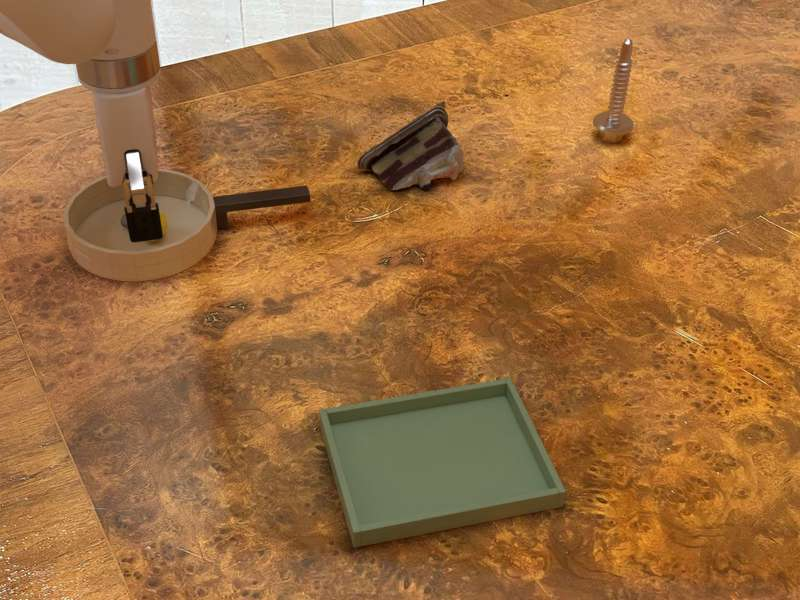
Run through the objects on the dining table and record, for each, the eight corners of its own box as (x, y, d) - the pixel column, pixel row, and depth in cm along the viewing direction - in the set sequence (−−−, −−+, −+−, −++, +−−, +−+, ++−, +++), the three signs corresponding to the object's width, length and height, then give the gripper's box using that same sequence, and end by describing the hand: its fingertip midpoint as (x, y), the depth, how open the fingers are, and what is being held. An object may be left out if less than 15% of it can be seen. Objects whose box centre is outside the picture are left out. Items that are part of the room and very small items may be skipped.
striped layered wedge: (381, 208, 117) (462, 134, 113) (350, 163, 120) (428, 89, 116) (422, 228, 125) (498, 158, 121) (392, 185, 128) (465, 116, 124)
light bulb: (161, 250, 109) (143, 226, 106) (122, 243, 112) (103, 220, 110) (179, 226, 110) (162, 202, 108) (140, 220, 114) (122, 196, 111)
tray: (353, 548, 82) (353, 532, 80) (319, 424, 91) (318, 409, 90) (563, 506, 85) (566, 491, 84) (508, 392, 95) (511, 377, 94)
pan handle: (217, 231, 112) (214, 206, 110) (215, 222, 113) (212, 196, 111) (311, 219, 114) (310, 194, 112) (307, 210, 115) (307, 184, 113)
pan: (71, 291, 104) (65, 262, 102) (67, 204, 115) (62, 177, 113) (225, 270, 107) (223, 242, 105) (207, 187, 118) (204, 161, 116)
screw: (621, 125, 131) (637, 145, 127) (584, 129, 130) (599, 150, 127) (640, 27, 123) (657, 46, 119) (600, 30, 122) (616, 49, 118)
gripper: (72, 22, 104) (101, 169, 115) (78, 112, 91) (110, 268, 102) (151, 14, 105) (171, 160, 116) (167, 102, 93) (189, 256, 104)
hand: (143, 210), depth 109 cm, fingers open, 9 cm apart
